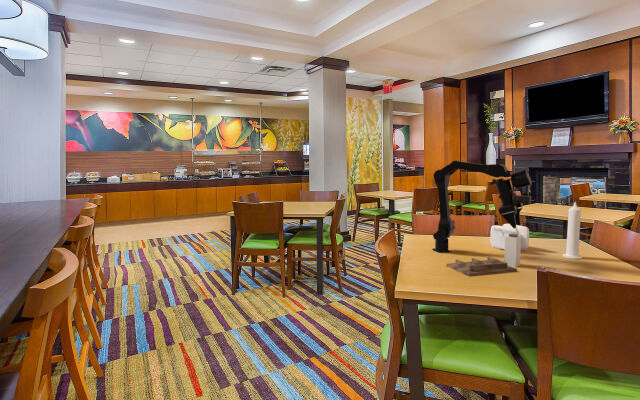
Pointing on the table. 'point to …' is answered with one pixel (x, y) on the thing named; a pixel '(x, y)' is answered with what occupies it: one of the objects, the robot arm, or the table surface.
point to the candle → (573, 233)
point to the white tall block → (512, 250)
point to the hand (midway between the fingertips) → (517, 226)
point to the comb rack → (481, 267)
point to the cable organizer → (502, 231)
